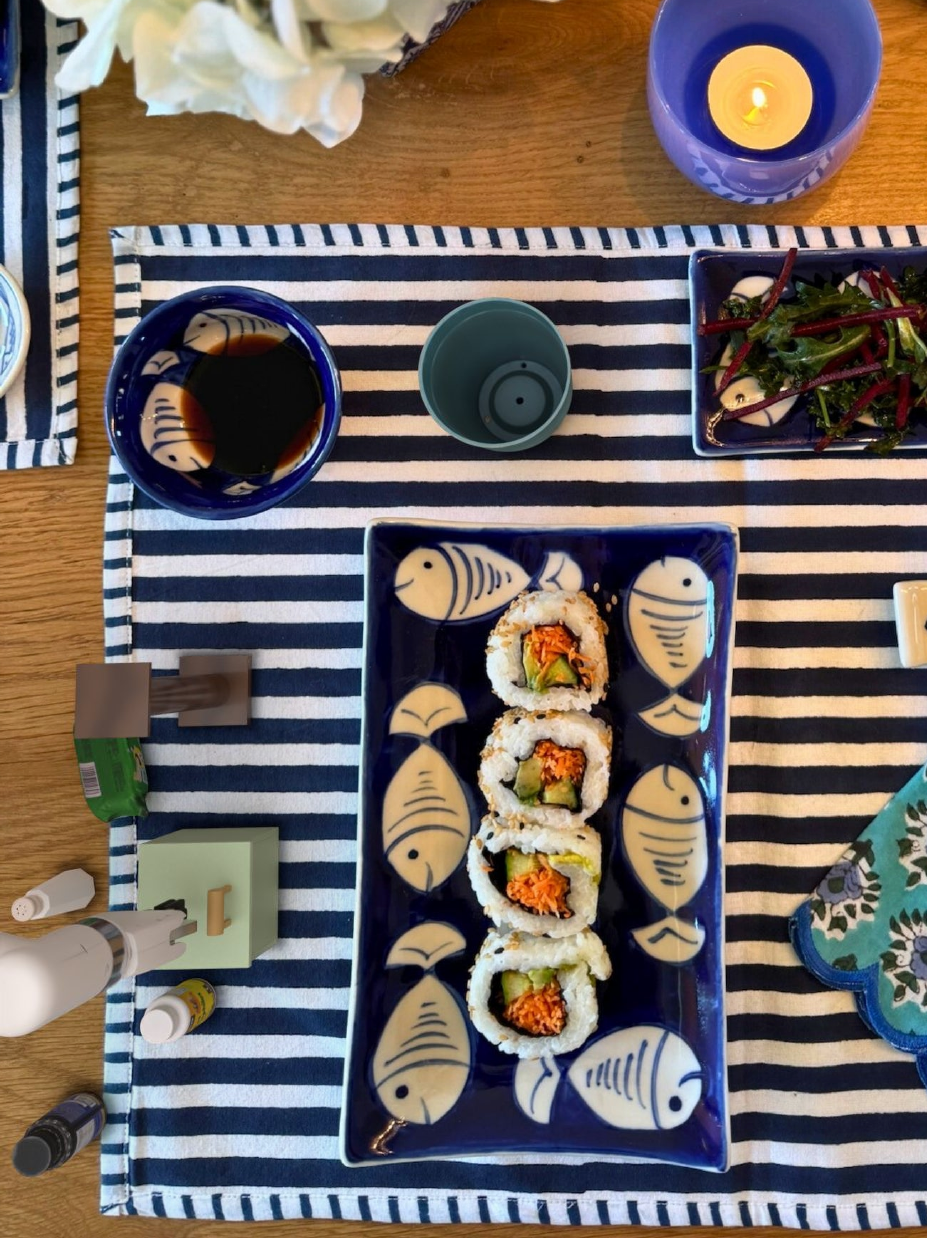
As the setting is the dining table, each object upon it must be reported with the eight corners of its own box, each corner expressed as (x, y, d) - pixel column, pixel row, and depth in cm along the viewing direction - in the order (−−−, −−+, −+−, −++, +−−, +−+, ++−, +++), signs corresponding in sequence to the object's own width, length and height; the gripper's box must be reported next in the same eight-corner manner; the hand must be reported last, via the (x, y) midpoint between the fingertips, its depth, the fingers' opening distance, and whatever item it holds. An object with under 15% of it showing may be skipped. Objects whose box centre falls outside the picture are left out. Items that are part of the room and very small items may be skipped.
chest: (278, 826, 140) (246, 840, 130) (277, 943, 139) (244, 965, 129) (182, 829, 140) (142, 842, 131) (180, 945, 139) (139, 968, 129)
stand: (182, 725, 142) (69, 743, 117) (183, 656, 142) (71, 659, 118) (251, 724, 141) (152, 741, 117) (251, 654, 142) (153, 657, 117)
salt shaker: (101, 872, 140) (49, 892, 129) (90, 914, 140) (37, 937, 129) (60, 863, 140) (5, 882, 129) (50, 905, 140) (-7, 928, 129)
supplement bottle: (217, 1022, 138) (178, 1052, 128) (174, 1021, 138) (131, 1051, 128) (219, 976, 139) (180, 1003, 128) (176, 975, 139) (134, 1002, 129)
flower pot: (430, 439, 144) (393, 413, 127) (484, 316, 146) (454, 274, 129) (555, 490, 143) (534, 470, 127) (608, 366, 145) (594, 330, 128)
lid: (253, 840, 130) (234, 848, 125) (251, 965, 129) (232, 979, 124) (142, 843, 131) (119, 851, 126) (139, 968, 129) (116, 981, 124)
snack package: (108, 826, 141) (86, 833, 135) (84, 708, 142) (60, 710, 137) (162, 812, 141) (141, 818, 136) (137, 694, 142) (115, 696, 137)
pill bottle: (52, 1108, 138) (-6, 1149, 127) (92, 1080, 138) (38, 1118, 127) (78, 1150, 137) (22, 1195, 126) (118, 1121, 137) (66, 1163, 126)
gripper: (10, 998, 107) (113, 946, 126) (159, 996, 107) (241, 944, 125) (12, 920, 108) (115, 880, 126) (161, 918, 108) (242, 878, 126)
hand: (177, 912), depth 126 cm, fingers closed
